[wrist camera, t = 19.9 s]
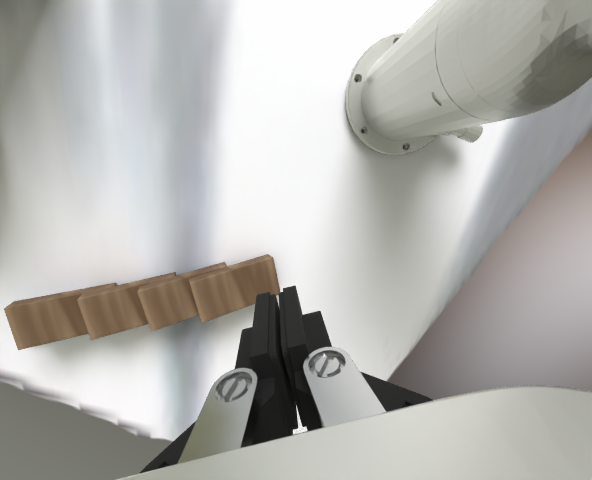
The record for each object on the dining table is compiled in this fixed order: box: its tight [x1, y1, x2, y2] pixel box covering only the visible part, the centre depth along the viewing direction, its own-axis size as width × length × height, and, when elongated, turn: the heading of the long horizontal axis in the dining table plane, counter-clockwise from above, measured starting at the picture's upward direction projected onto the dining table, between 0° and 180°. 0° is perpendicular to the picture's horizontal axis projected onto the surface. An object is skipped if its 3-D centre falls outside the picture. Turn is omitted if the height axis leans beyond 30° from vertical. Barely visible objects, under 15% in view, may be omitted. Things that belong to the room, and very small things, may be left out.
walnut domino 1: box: [4, 283, 117, 350], centre depth 33 cm, size 2×5×10 cm
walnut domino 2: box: [77, 272, 176, 340], centre depth 33 cm, size 2×5×10 cm
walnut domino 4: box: [189, 254, 280, 323], centre depth 34 cm, size 2×5×10 cm
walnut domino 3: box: [138, 262, 227, 331], centre depth 34 cm, size 2×5×10 cm
